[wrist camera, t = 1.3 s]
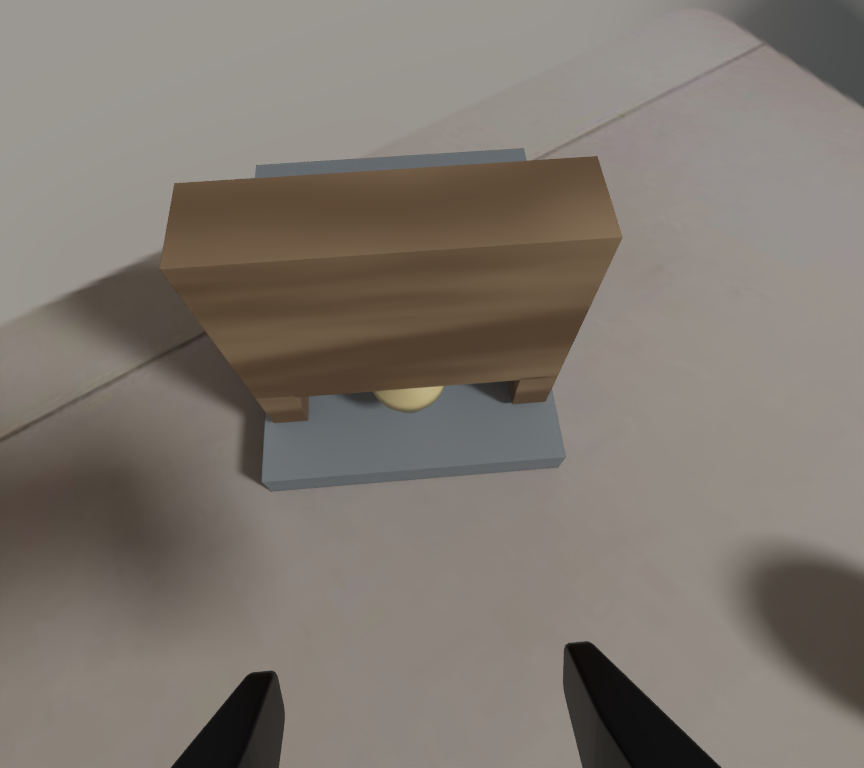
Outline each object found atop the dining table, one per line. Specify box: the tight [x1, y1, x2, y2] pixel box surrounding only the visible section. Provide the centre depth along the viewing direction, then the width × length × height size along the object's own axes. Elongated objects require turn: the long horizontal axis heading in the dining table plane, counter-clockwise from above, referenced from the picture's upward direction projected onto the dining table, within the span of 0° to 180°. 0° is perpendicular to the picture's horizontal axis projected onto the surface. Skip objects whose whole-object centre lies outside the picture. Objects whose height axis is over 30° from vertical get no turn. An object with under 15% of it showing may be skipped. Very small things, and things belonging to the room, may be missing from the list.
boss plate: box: [255, 148, 566, 491], centre depth 24 cm, size 13×13×6 cm
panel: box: [160, 156, 622, 423], centre depth 19 cm, size 3×12×11 cm, turn 95°
